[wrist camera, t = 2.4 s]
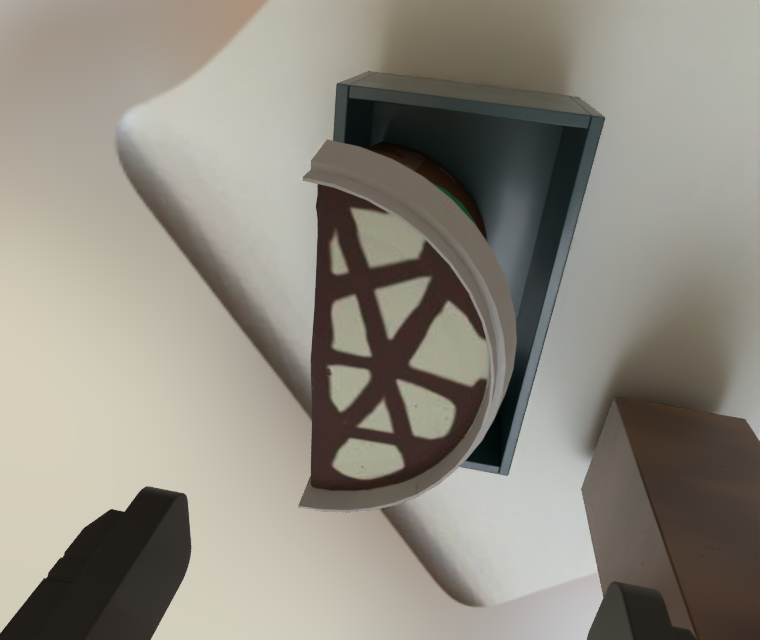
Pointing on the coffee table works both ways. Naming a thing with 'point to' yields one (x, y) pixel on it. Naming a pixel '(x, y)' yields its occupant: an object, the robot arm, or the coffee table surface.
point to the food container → (400, 328)
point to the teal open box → (493, 193)
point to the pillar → (680, 513)
